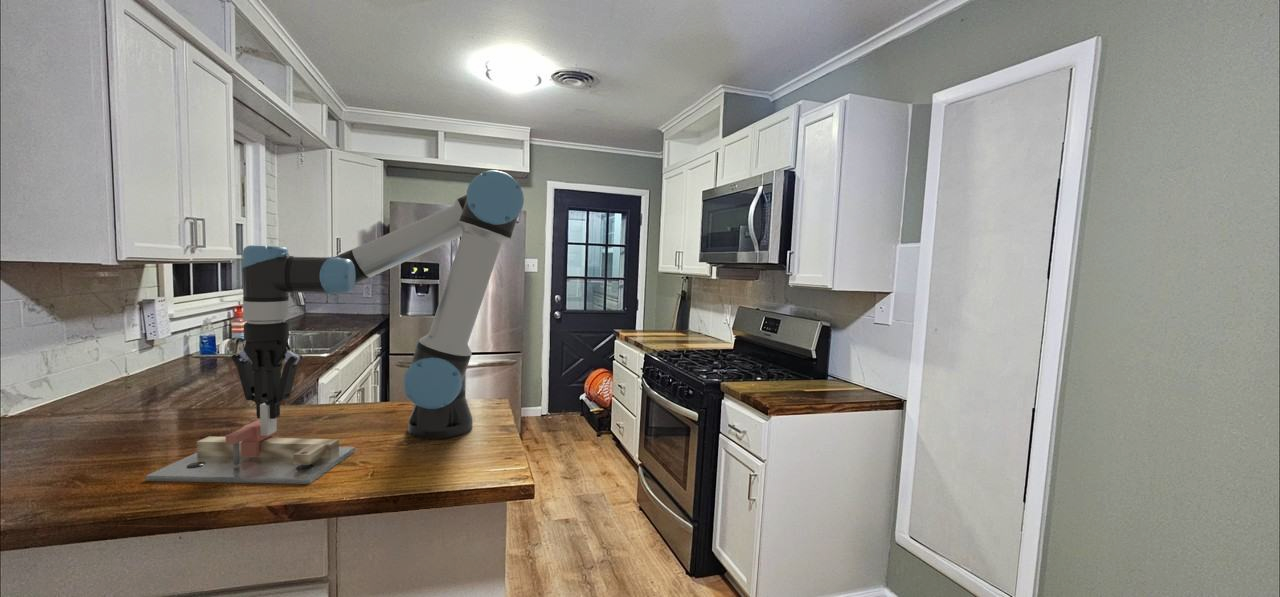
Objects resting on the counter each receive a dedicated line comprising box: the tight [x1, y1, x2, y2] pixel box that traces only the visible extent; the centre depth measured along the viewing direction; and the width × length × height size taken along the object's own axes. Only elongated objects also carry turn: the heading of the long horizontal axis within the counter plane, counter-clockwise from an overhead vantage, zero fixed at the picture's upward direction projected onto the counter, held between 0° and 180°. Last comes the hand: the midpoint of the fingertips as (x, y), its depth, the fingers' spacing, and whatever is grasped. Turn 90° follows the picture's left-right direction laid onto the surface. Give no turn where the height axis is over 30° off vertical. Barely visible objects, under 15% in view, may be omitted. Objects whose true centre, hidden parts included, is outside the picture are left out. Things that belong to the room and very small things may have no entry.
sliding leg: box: [225, 419, 276, 465], centre depth 103 cm, size 3×10×6 cm, turn 2°
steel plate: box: [145, 446, 356, 485], centre depth 102 cm, size 30×16×1 cm, turn 92°
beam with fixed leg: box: [196, 435, 340, 468], centre depth 103 cm, size 27×8×3 cm, turn 92°
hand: (268, 433), depth 105 cm, fingers closed
